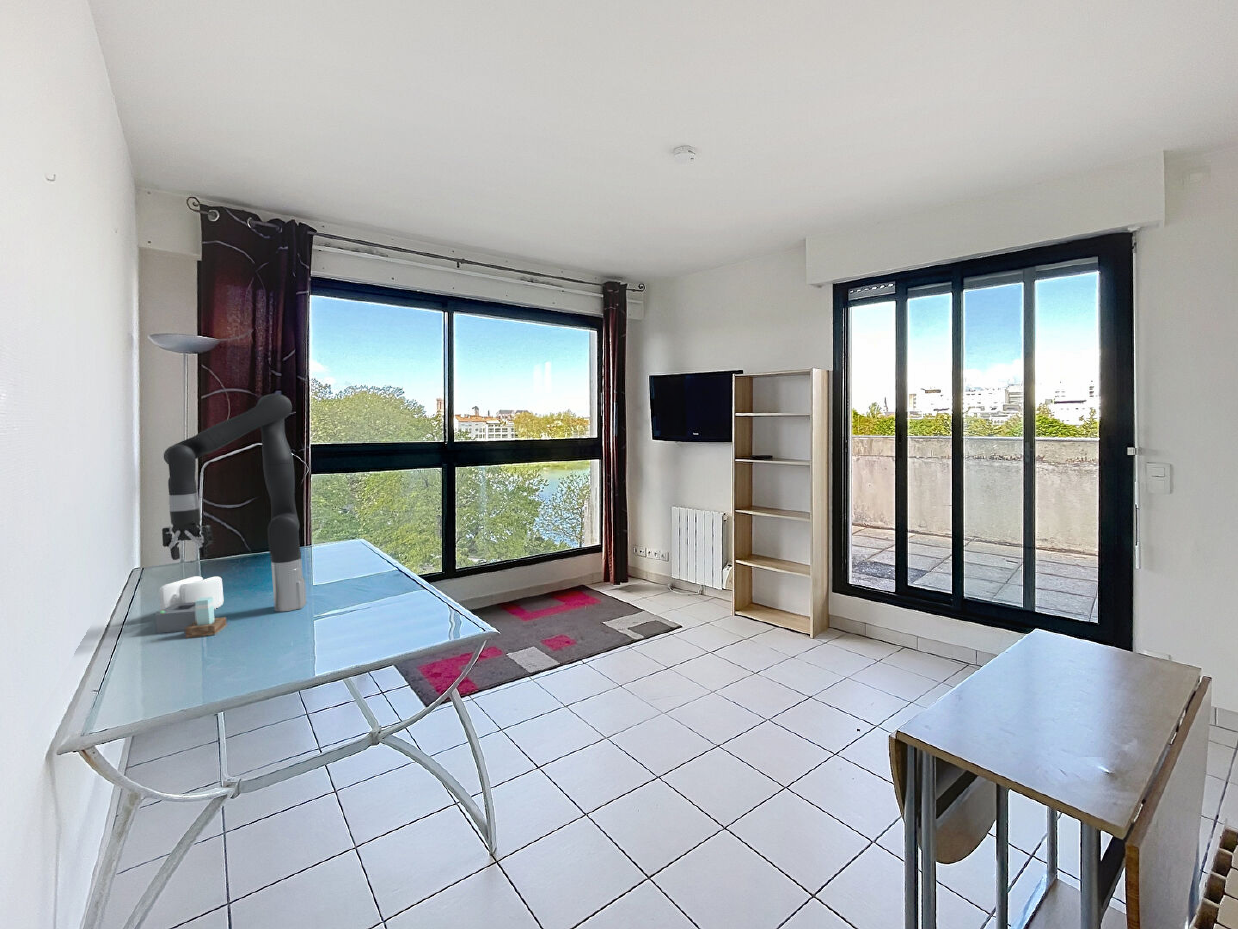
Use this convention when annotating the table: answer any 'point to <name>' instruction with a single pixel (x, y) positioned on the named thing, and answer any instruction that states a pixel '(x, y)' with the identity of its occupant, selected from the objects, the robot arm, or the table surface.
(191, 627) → the brown wooden square block
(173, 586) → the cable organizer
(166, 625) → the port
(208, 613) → the pale turquoise box
